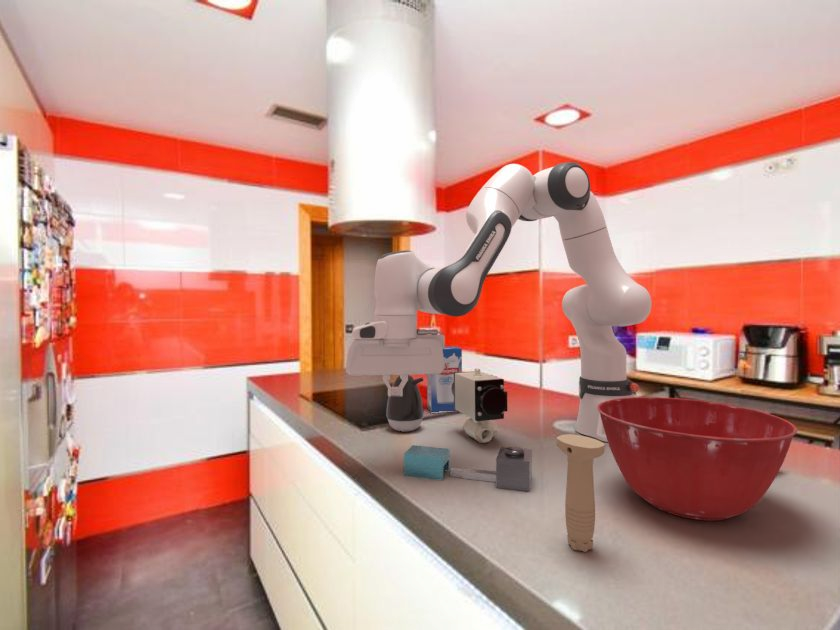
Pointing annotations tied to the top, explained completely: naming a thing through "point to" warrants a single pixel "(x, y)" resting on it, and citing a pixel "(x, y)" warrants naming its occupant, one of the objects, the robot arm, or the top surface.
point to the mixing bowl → (695, 453)
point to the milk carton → (444, 381)
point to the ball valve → (479, 402)
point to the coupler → (504, 470)
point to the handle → (580, 488)
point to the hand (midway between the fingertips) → (395, 396)
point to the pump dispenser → (406, 406)
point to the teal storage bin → (426, 462)
